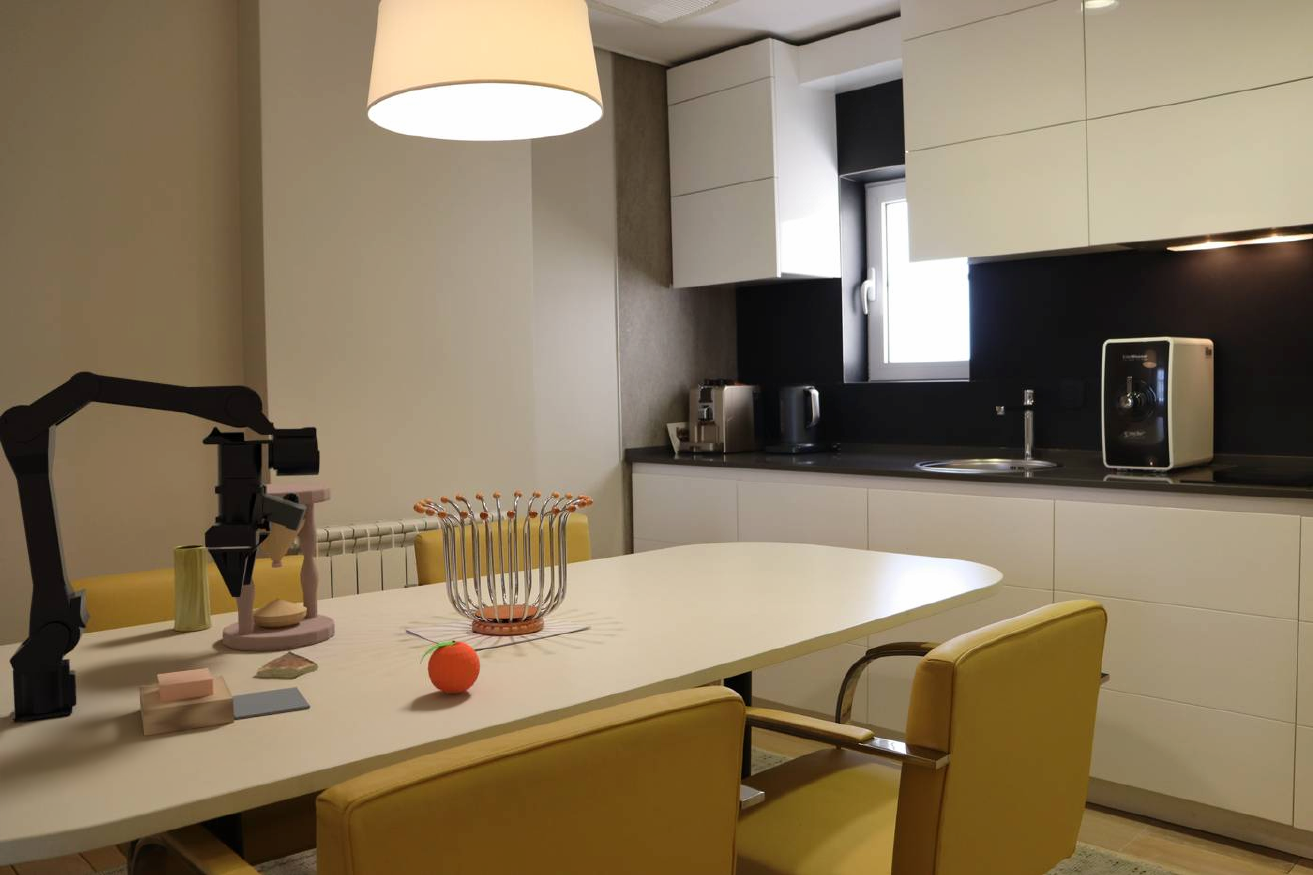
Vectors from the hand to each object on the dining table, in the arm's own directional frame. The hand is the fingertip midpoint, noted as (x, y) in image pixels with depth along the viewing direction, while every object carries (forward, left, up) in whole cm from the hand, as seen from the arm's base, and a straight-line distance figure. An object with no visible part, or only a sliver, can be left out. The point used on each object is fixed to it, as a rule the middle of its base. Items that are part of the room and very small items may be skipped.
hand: (241, 590), depth 145 cm
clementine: (+24, -17, -14) cm, 32 cm away
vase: (-3, +45, -14) cm, 47 cm away
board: (-8, -9, -14) cm, 18 cm away
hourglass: (+9, +29, -14) cm, 33 cm away
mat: (+2, -9, -14) cm, 16 cm away
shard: (+6, +8, -14) cm, 18 cm away
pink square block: (-8, -9, -11) cm, 16 cm away
